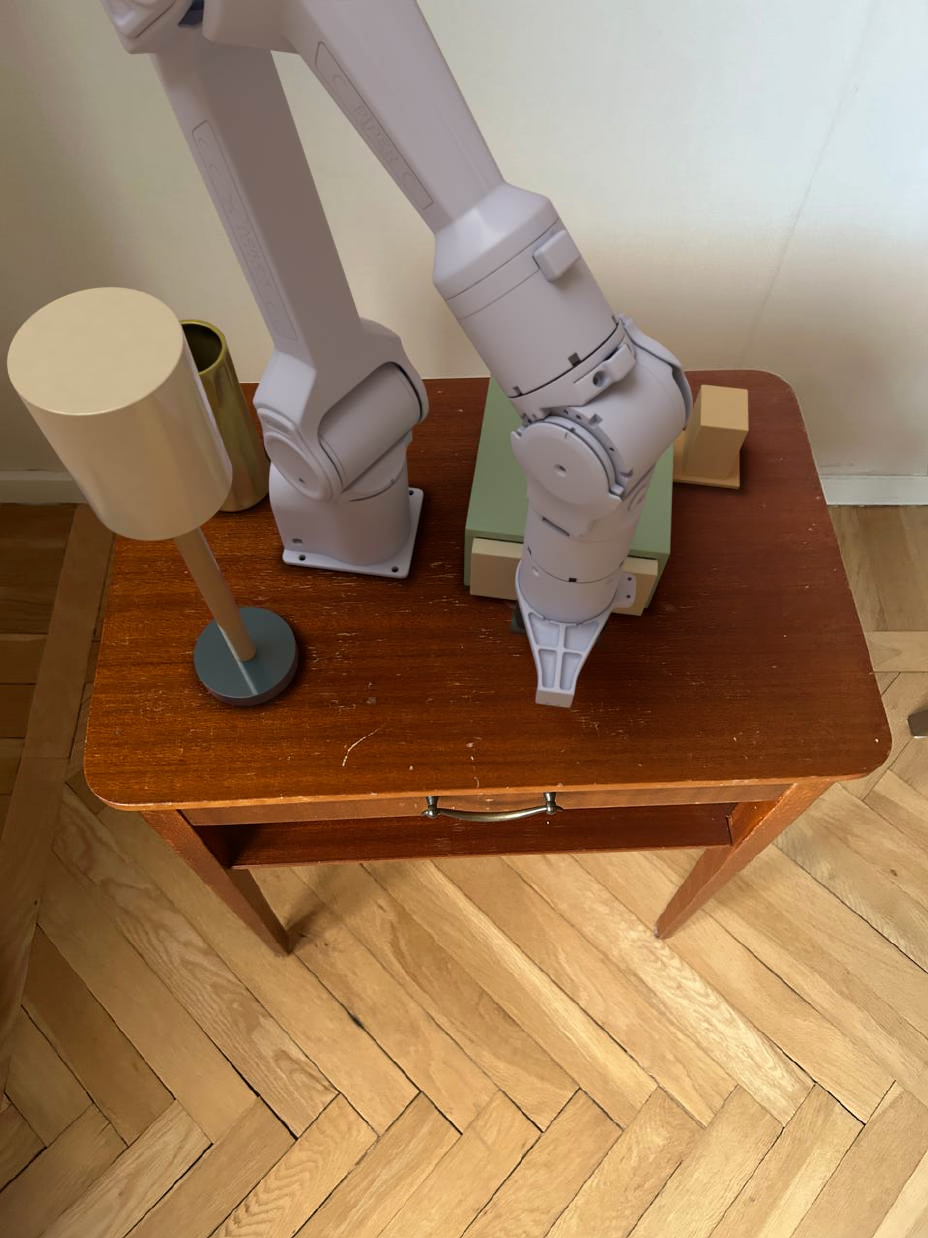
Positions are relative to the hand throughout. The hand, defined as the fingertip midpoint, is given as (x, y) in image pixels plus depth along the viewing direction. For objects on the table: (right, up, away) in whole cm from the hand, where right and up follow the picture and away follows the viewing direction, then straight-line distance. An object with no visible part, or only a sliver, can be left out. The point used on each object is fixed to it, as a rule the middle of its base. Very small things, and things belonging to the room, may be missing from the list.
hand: (551, 649), depth 59 cm
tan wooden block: (+13, +15, +11) cm, 23 cm away
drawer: (+1, +7, +6) cm, 9 cm away
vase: (-24, +13, +10) cm, 29 cm away
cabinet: (+2, +10, +8) cm, 13 cm away
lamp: (-21, -1, +3) cm, 21 cm away
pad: (+13, +15, +11) cm, 23 cm away
